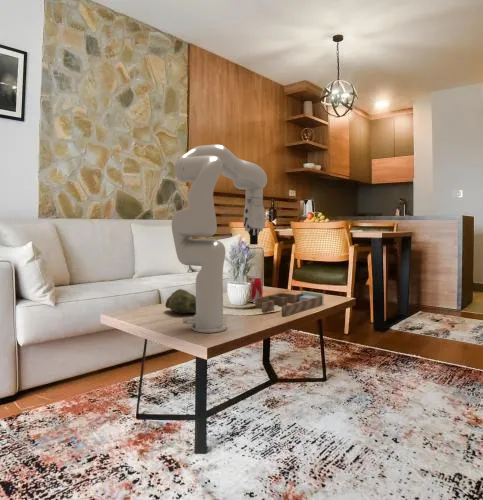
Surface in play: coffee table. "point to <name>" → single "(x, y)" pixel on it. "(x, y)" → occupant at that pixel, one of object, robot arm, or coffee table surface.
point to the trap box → (282, 300)
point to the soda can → (255, 287)
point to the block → (305, 297)
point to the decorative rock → (181, 302)
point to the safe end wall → (313, 295)
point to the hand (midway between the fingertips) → (253, 244)
